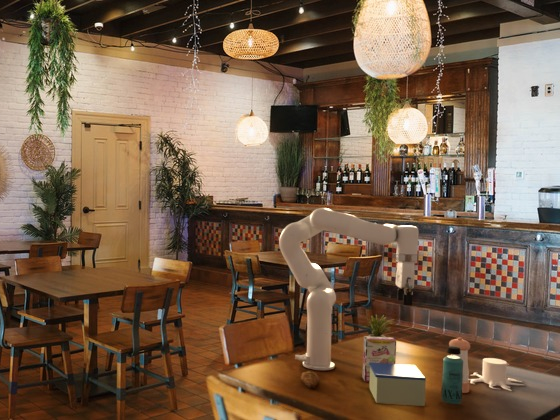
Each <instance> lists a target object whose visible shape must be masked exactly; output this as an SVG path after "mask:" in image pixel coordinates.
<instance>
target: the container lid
mask: <svg viewBox="0 0 560 420" xmlns="http://www.w3.org/2000/svg"><path fill="white" fill-rule="evenodd" d="M369 366H370V368H371V369H372V371H373V373H374V375H375V377H379V378H396V379H412V380H427V379H426V376H425V375H424V374H423V373H422V372H421V370H420V369H419V368H418V367H417V365H416V364H405V363H404V364H403V363H395V364H389V363H371V362H369Z"/></svg>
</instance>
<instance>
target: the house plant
mask: <svg viewBox="0 0 560 420" xmlns="http://www.w3.org/2000/svg"><path fill="white" fill-rule="evenodd" d="M384 316H385V314H383V315H382V316H381V317H380V319H379V318H378V315H377V314H375V317H374V316H373V315H372V314H370V319H368V318H367V317H365V319H366V320H367V322H368V323H369V324H370V327H369V326H367V325H364V326H363V328H367V329H368V330H370V331H371V334H369V335H368V336H371V337H386V335H383V334H384V333H386V332H388V333H391V328H392V326H389V327H386V326H387V325H393V324H394V322H393V321H394V320H396V319H388V320H386V318H387V316H385V317H384Z"/></svg>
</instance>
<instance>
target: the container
mask: <svg viewBox="0 0 560 420" xmlns="http://www.w3.org/2000/svg"><path fill="white" fill-rule="evenodd" d="M426 380H427V379H426ZM426 380H412V379H396V378H379V377H375V375H374V373H373V371H372V369H371V368H370V382H369V391H370V392H371V395H372V397H373V399H374V401H375V403H376V404H384V405H400V406H401V405H402V406H415V407H425V406H426V405H425V404H426V383H427V381H426Z"/></svg>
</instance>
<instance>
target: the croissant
mask: <svg viewBox="0 0 560 420" xmlns="http://www.w3.org/2000/svg"><path fill="white" fill-rule="evenodd" d="M300 380H301V381H302V382H303V384H304V385H305V386H306V387H308V388H310V389H314V388H316V386H317V385H318V382H319V380H320V378H319V376H318V375H317V373H316V372H314V371H312V370H307V371H303V372H302V373H301V376H300Z"/></svg>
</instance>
